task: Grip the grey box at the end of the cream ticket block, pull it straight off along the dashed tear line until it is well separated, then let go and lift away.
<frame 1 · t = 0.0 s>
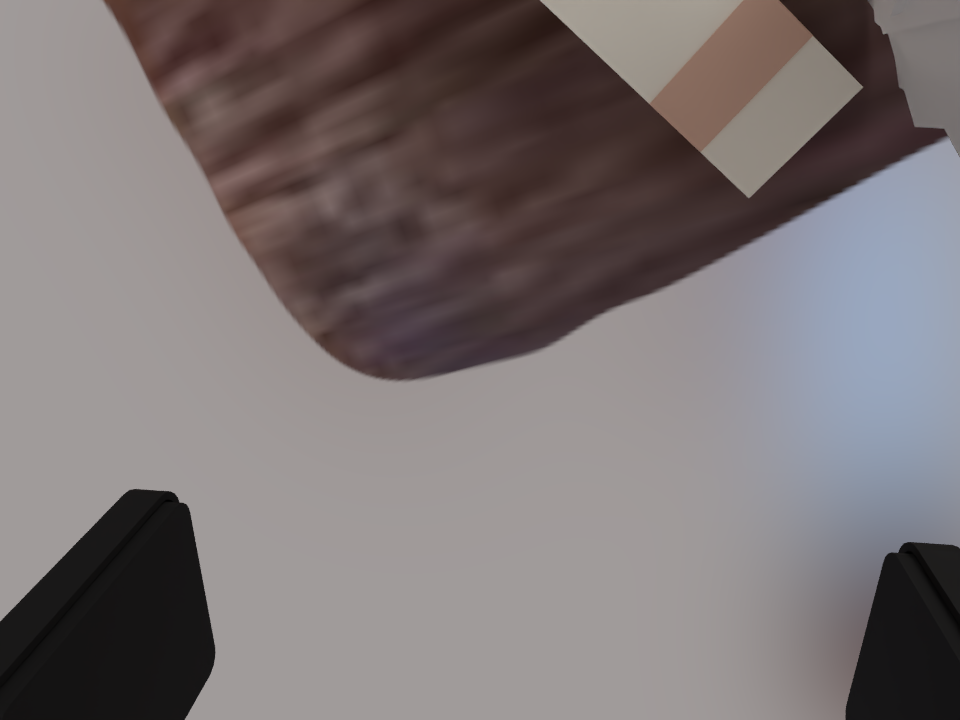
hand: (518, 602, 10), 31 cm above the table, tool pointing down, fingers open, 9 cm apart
ticket block: (656, 12, 35), on the table
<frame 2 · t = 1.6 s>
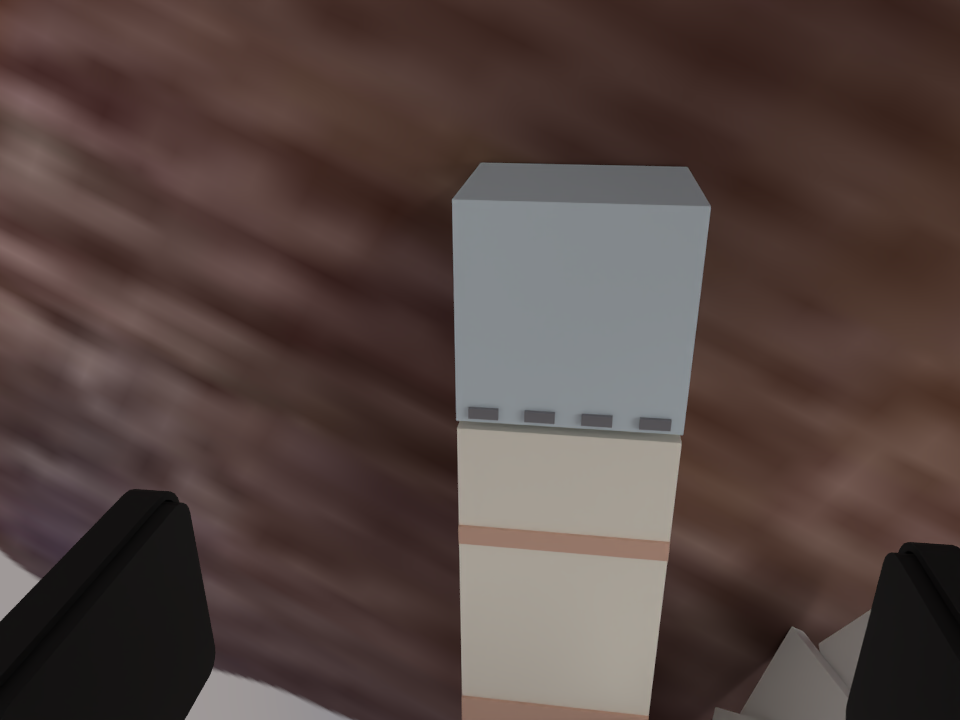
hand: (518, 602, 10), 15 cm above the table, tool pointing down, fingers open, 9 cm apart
grey box: (575, 290, 21), point 3 cm above the table, slide at 0.0 cm
ticket block: (562, 556, 28), on the table
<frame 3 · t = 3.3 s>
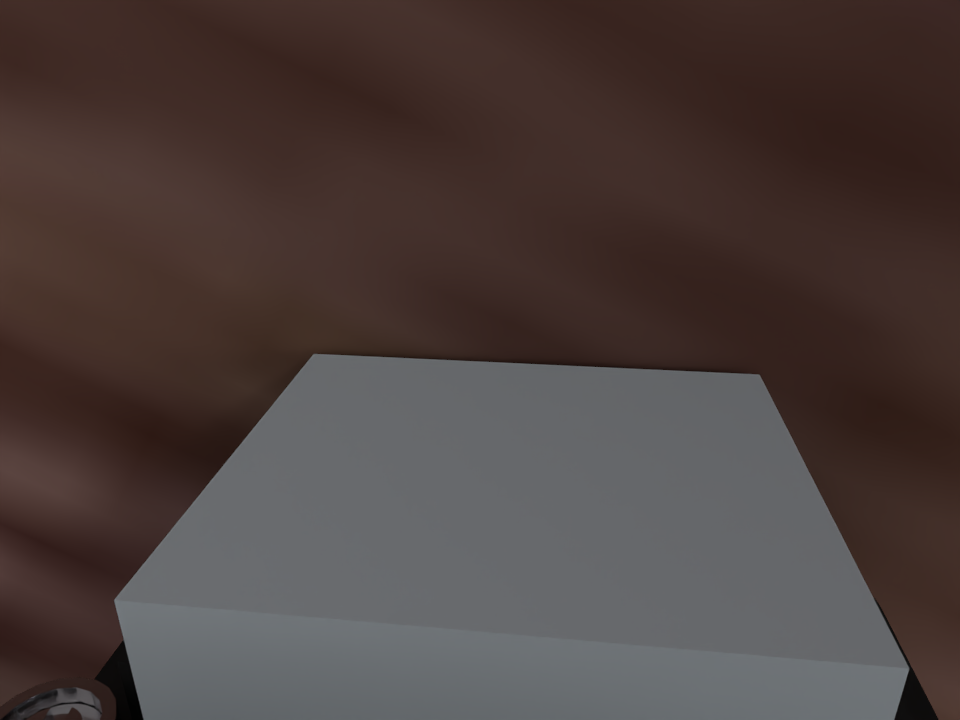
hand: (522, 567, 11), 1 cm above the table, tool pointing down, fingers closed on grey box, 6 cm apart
grey box: (510, 678, 9), point 3 cm above the table, slide at 0.0 cm, touching gripper
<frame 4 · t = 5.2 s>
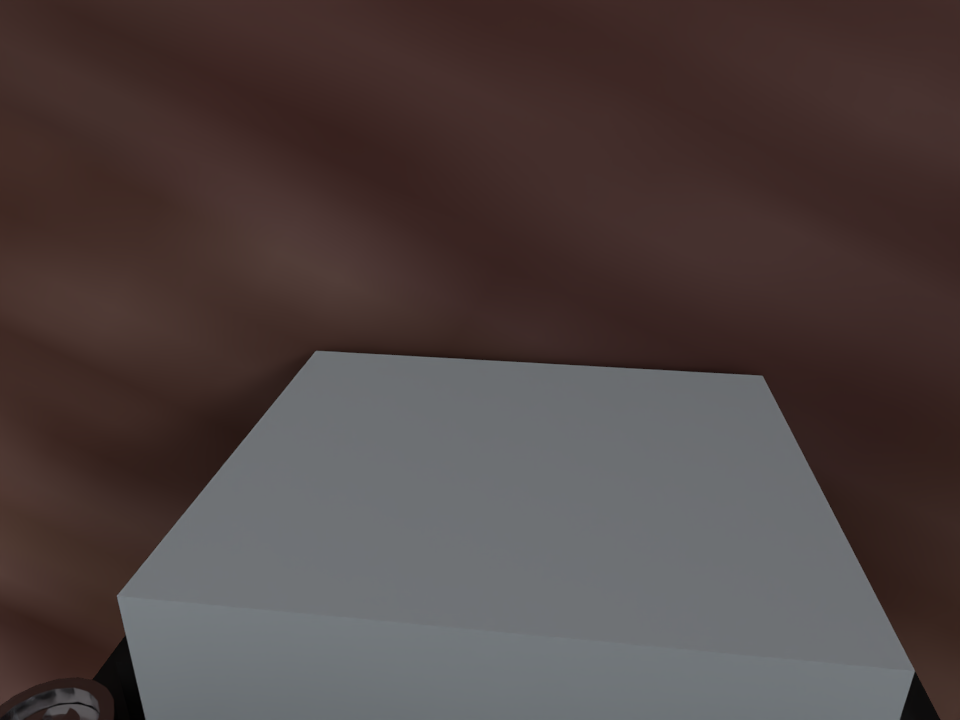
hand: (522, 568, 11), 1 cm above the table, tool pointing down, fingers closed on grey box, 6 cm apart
grey box: (511, 677, 9), point 3 cm above the table, slide at 5.9 cm, touching gripper
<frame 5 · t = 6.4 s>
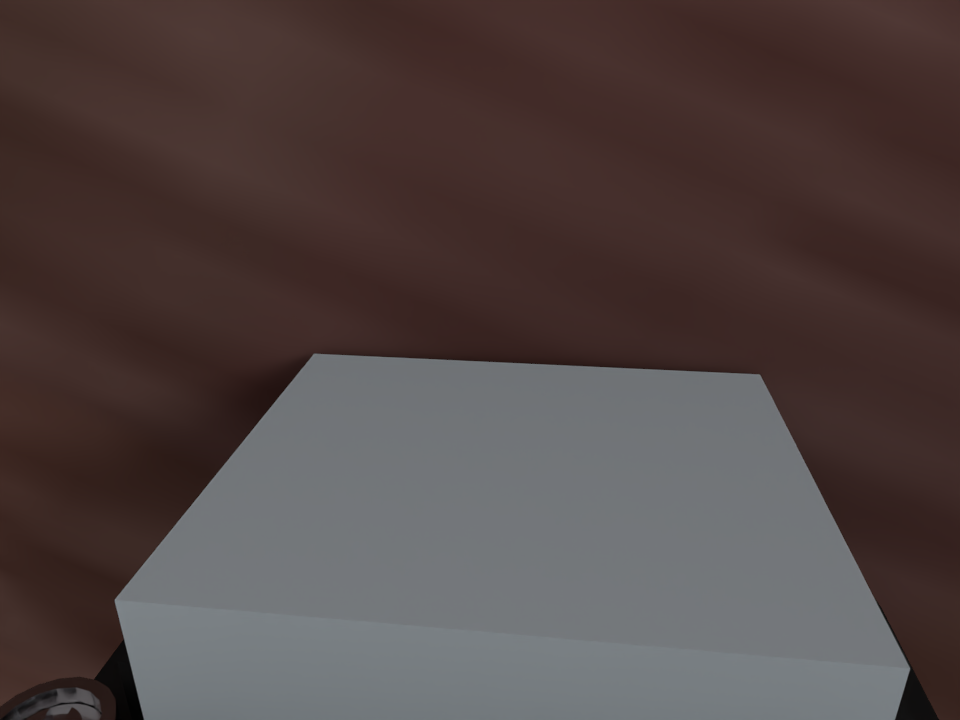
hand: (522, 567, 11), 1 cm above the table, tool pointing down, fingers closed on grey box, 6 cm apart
grey box: (510, 678, 9), point 3 cm above the table, slide at 10.0 cm, touching gripper
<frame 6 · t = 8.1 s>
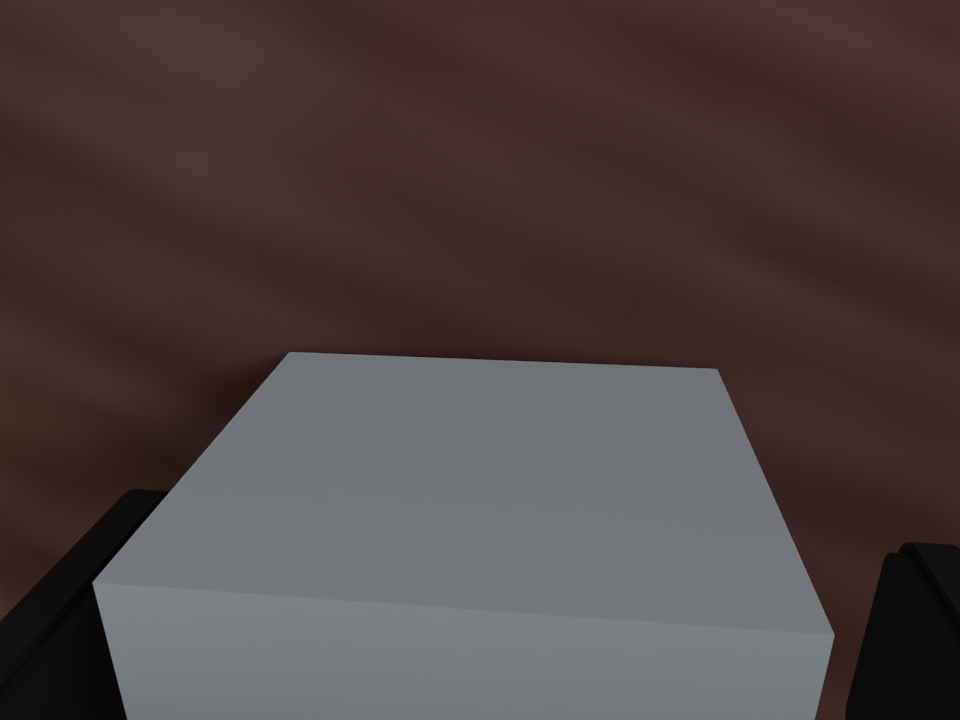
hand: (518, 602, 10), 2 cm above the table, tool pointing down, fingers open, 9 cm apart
grey box: (478, 661, 10), point 3 cm above the table, slide at 10.0 cm
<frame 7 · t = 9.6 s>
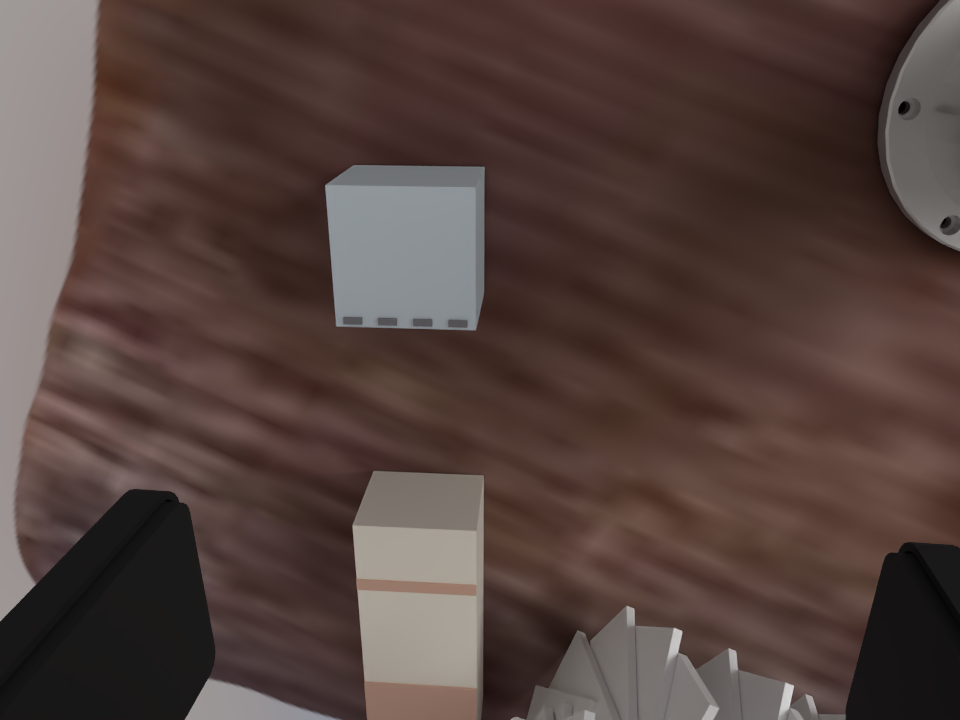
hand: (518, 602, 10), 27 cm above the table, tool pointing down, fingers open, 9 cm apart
grey box: (412, 244, 34), point 3 cm above the table, slide at 10.0 cm
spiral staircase: (694, 702, 47), on the table
ticket block: (431, 591, 44), on the table
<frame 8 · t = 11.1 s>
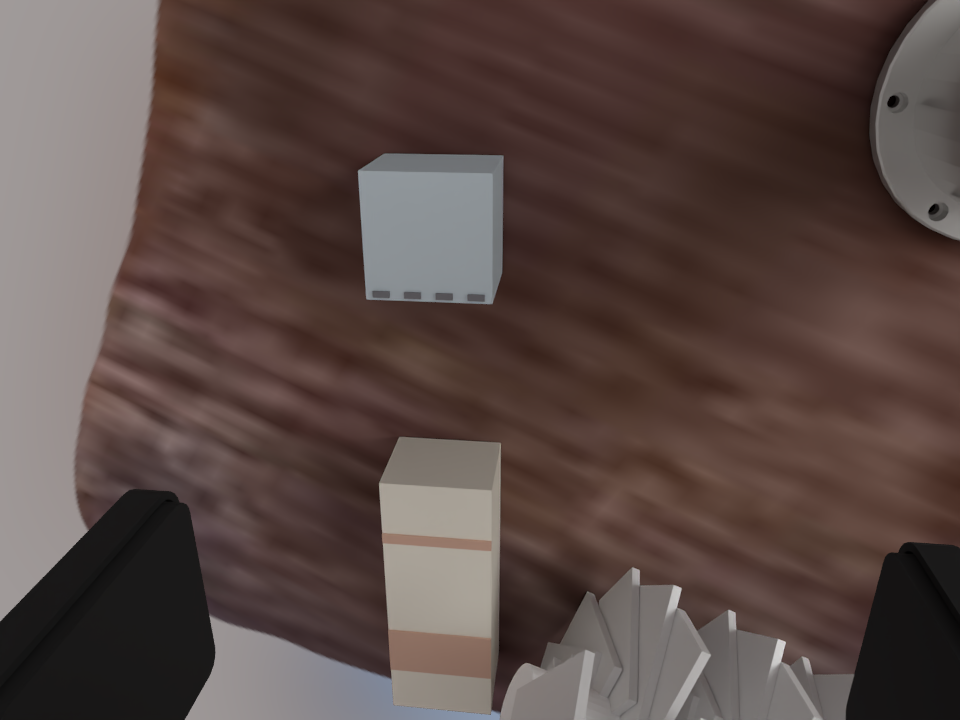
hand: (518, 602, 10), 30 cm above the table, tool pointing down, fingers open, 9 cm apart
grey box: (436, 226, 37), point 3 cm above the table, slide at 10.0 cm
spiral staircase: (698, 663, 49), on the table
ticket block: (452, 551, 48), on the table
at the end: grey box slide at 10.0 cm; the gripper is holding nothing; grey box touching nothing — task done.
